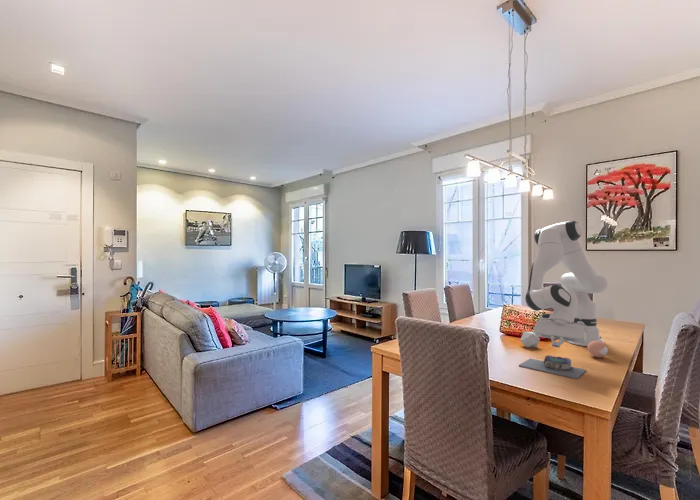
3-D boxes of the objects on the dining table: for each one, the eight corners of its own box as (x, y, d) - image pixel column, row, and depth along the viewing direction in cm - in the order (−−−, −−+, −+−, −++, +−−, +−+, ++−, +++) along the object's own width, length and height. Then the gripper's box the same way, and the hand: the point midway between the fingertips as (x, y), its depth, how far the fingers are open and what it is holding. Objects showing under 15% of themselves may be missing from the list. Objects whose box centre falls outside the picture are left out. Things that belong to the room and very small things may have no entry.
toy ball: (608, 360, 156) (608, 343, 157) (588, 358, 161) (587, 341, 161) (606, 356, 163) (606, 339, 163) (587, 354, 167) (587, 337, 168)
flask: (571, 358, 149) (570, 365, 139) (571, 365, 149) (570, 373, 139) (545, 354, 154) (542, 361, 145) (545, 361, 154) (542, 368, 145)
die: (538, 351, 175) (544, 334, 178) (522, 342, 176) (529, 326, 180) (530, 352, 182) (536, 337, 186) (515, 344, 184) (521, 328, 187)
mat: (530, 359, 159) (530, 358, 159) (586, 370, 143) (586, 369, 143) (518, 366, 149) (518, 365, 149) (577, 379, 133) (577, 378, 133)
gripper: (590, 328, 151) (584, 355, 144) (540, 322, 166) (533, 346, 159) (587, 319, 148) (582, 346, 141) (536, 314, 163) (529, 338, 156)
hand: (555, 346), depth 150 cm, fingers closed
